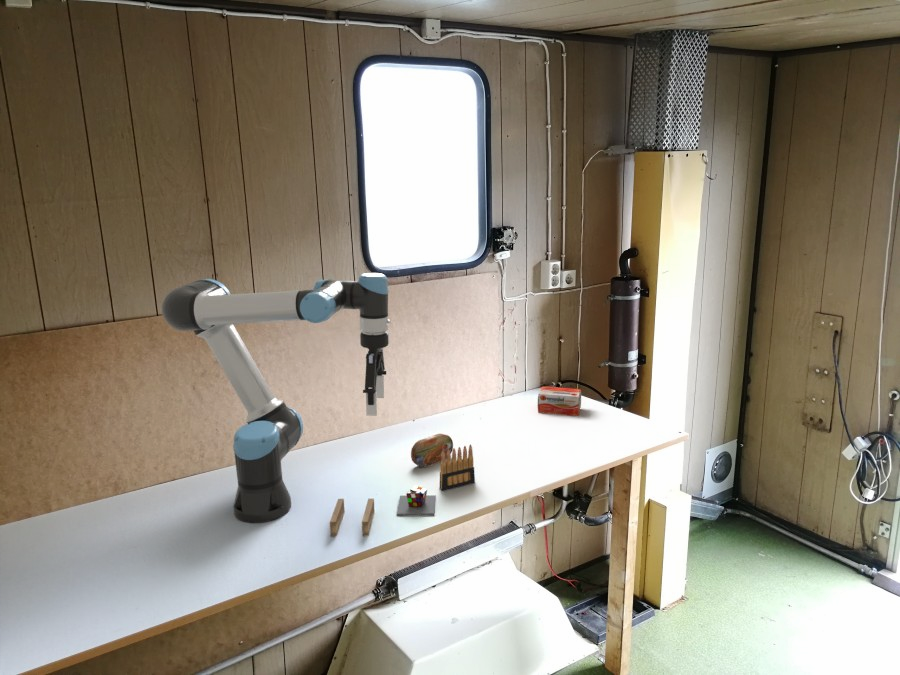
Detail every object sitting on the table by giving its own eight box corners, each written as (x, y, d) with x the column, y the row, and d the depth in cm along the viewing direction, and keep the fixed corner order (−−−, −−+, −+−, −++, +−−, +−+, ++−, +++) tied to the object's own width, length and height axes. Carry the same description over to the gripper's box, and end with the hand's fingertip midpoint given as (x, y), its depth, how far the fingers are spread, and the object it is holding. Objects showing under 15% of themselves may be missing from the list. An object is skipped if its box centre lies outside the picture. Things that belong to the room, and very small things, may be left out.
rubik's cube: (421, 511, 185) (423, 494, 183) (404, 505, 186) (406, 489, 185) (426, 504, 188) (429, 488, 187) (410, 498, 190) (412, 482, 188)
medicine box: (537, 413, 254) (537, 392, 252) (540, 405, 261) (541, 386, 259) (578, 417, 249) (579, 396, 247) (581, 409, 257) (581, 389, 255)
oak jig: (330, 536, 173) (329, 521, 172) (339, 512, 185) (338, 498, 184) (368, 535, 173) (367, 521, 172) (374, 512, 185) (373, 498, 184)
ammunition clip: (442, 491, 196) (441, 452, 193) (439, 488, 197) (438, 450, 194) (475, 483, 200) (474, 444, 197) (472, 480, 202) (471, 442, 199)
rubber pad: (396, 515, 183) (396, 513, 182) (400, 497, 192) (400, 495, 192) (434, 515, 182) (434, 513, 182) (435, 497, 192) (435, 495, 192)
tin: (415, 470, 209) (414, 445, 206) (409, 467, 211) (408, 442, 209) (454, 457, 218) (453, 432, 216) (447, 453, 220) (447, 429, 218)
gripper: (381, 344, 171) (382, 423, 177) (394, 320, 195) (394, 391, 201) (351, 343, 172) (353, 422, 177) (367, 320, 196) (369, 390, 201)
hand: (375, 406), depth 189 cm, fingers open, 13 cm apart
